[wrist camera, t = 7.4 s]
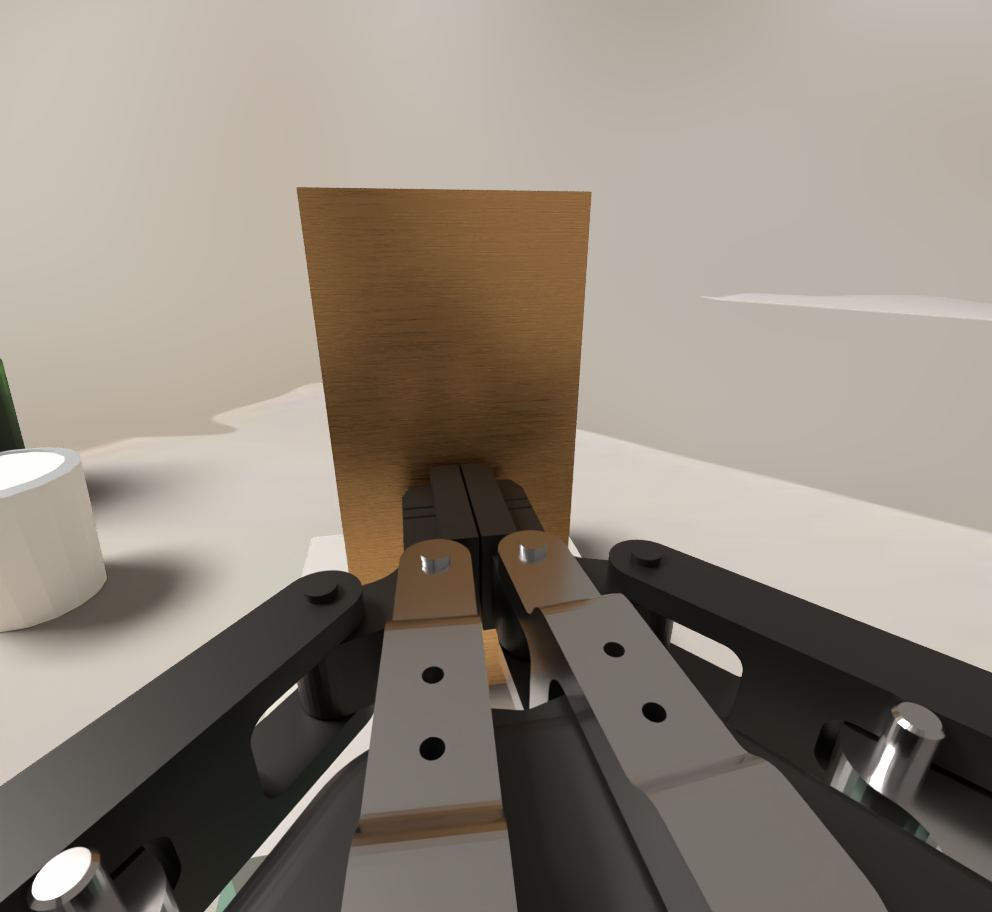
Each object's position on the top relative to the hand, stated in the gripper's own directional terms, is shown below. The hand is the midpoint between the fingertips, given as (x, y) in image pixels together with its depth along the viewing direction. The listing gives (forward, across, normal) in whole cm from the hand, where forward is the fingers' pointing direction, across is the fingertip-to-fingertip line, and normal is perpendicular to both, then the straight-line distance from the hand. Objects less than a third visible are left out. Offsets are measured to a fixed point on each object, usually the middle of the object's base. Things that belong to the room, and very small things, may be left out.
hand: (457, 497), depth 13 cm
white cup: (+14, +20, +11) cm, 27 cm away
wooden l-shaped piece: (+6, 0, +7) cm, 9 cm away
